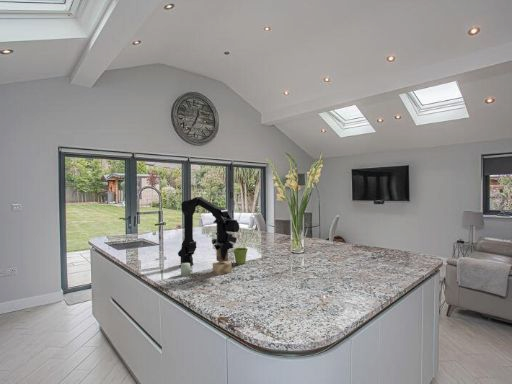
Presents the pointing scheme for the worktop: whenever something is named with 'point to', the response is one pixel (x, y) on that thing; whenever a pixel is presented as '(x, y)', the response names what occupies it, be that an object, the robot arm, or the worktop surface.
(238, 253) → the plant pot
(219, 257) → the walnut cube
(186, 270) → the sage cylinder
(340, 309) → the worktop surface
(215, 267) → the oak block
